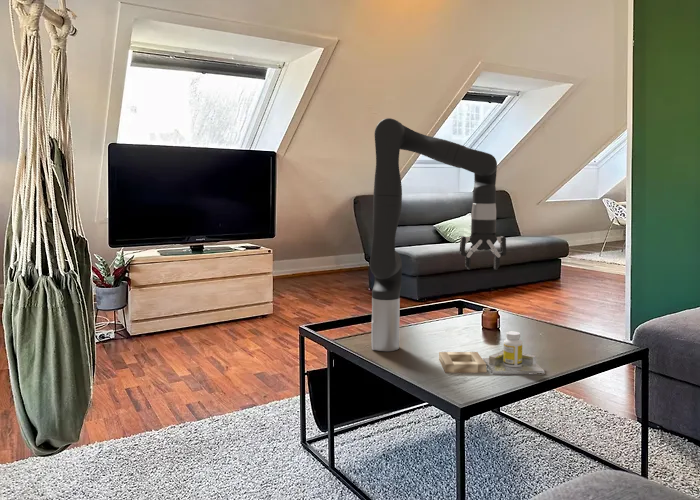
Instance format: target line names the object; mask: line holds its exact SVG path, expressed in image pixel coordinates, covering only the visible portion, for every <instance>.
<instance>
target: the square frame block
mask: <svg viewBox="0 0 700 500" xmlns="http://www.w3.org/2000/svg"><path fill="white" fill-rule="evenodd" d="M438 362H439V363H440V365H441V367H442V369H443V371H444V373H445V374H447V373H451V374H452V373H453V374H455V373H456V374H457V373H459V374H460V373H461V374H462V373H465V374H466V373H472V374H473V373H475V374H479V373H482V374H484V373H485V374H487V366H486V363H485V362H484V360H483V357H482V356H481V354H479V352H478V351H439V352H438Z"/></svg>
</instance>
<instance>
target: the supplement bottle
mask: <svg viewBox="0 0 700 500" xmlns="http://www.w3.org/2000/svg"><path fill="white" fill-rule="evenodd" d="M505 335H506V336H505V337H506V338H505V339H504V341H503V350H504V353H503V363H504V365H506V366H508V367H520V366H521V365H522V353H523V341H522V340H521V339H520V338H521V333H520V332H519V331H511V330H510V331H506V334H505Z"/></svg>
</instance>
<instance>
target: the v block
mask: <svg viewBox="0 0 700 500" xmlns="http://www.w3.org/2000/svg"><path fill="white" fill-rule="evenodd" d="M503 353H504V349H502V350H501V351H499V352H496V353H494V354H492V355H489V356H488V357H486V358H485V357H482V359H483V360H484V362H485V363H486V368H487V369H488V370H489V371H490V373H491V374H492V375H530V374H529V373H544V374H545V370H544V369H543V368H542V367H541V366H540V365H539V364H538V363H537V355H533V354H530V353H529V354H528V353H524V352H522V365H521V366H520V367H508V366H506V365H504V363H503Z"/></svg>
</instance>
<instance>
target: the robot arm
mask: <svg viewBox="0 0 700 500" xmlns="http://www.w3.org/2000/svg"><path fill="white" fill-rule="evenodd" d="M374 145H375V147H374V148H375V169H374V173H375V174H374V184H373V185H374V187H373V200H372V202H373V203H372V208H373V210H372V215H373V216H372V229H373V230H372V231H373V233H372V243H371V252H370V258H369V269H370V272H371V273H372V274H373V276H374V284H373V286H372V287H373V288H372V290H371V350H372V351H379V352H393V351H397V350H398V349H400V316H401V315H400V308H401V307H400V303H401V298H400V297H401V295H400V293H401V289H402V277H403V276H402V275H403V264H402V263H403V261H402V258H401V256H400V254H399V253H398V252H397V251H396V234H397V230H398V225H399V222H400V218H401V215H402V214H401V212H402V206H403V205H402V203H403V202H402V201H403V186H402V179H401V172H400V166H399V165H400V163H399V162H400V151H401V150H402V151H408V152H413V153H416V154H419V155H422V156H424V157H427V158H429V159H432V160H434V161H437V162H439V163H442V164H444V165H448V166H451V167H454V168H459V169H463V170H465V171H467V172H471V173H473V174H474V175H473V176H474V177H473V179H474V181H473V182H474V183H473V184H474V186H473V191H472V207H471V213H470V216H471V223H470V224H471V225H470V227H471V229H470V236H463V235H462V236H460V240H459V241H460V242H459V243H460V244H459V255H461V256H463V257H464V259H465V260H464V266H465V267H466V269H467V270H471V268H472V267H471V266H472V263H471V262H472V257H471V256H472V255H473V253H475V252H476V250H477V251H483V250H484V251H491V252H492V254H493V255H494V257H493V270H498V268H500V264H501V263H500V262H501V257H504V256H507V238H506V237H505V236H503V235H500V236H496V233H497V231H496V230H497V204H496V203H497V202H496V200H497V190H496V189H497V188H496V183H497V171H498V170H497V169H498V161H497V159H496V158H495V156H494V155H493V154H491V153H489V152H485V151H481V150H477V149H474V148H469V147H467V146H464V145H463V144H460V143H456V142H453V141H450V140H446V139H443V138H439V137H435V136H434V137H433V136H429V135H426V134H423V133H420V132H417V131H415V130H413V129H411V128H409V127H408V126H406V125H403V124H402V123H401V122H400V121H399V120H396V119H394V118H391V117H390V118H389V117H386V118H384V119H381V120H380V121H379V122H378V123H377V125H376V127H375V129H374ZM497 241H498V243H499V246H500V249H499V250H500V251H498V249H497V248H496V247H495V243H496V242H497ZM468 242H470V243H471V246H469V248H468V250H466V244H468Z"/></svg>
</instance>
